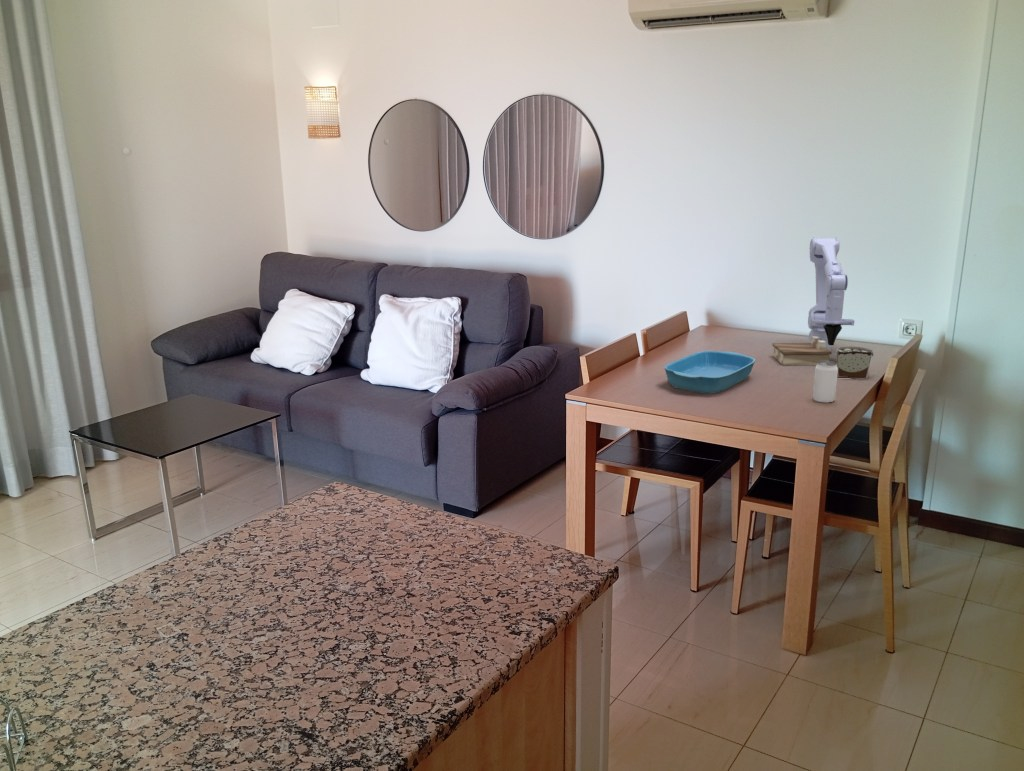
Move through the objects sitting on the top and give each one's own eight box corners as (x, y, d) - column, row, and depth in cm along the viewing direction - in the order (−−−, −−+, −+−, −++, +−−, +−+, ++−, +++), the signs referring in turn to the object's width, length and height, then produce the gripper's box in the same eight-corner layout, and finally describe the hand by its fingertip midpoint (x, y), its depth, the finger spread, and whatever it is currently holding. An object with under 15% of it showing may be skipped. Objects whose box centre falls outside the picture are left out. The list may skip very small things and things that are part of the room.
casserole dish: (714, 401, 252) (716, 379, 250) (652, 389, 266) (653, 368, 264) (763, 376, 279) (765, 356, 277) (704, 366, 293) (705, 347, 291)
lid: (772, 345, 301) (773, 335, 300) (818, 345, 300) (819, 335, 299) (783, 354, 287) (784, 343, 286) (831, 354, 287) (832, 343, 286)
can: (809, 397, 253) (812, 360, 250) (829, 396, 254) (832, 360, 250) (818, 403, 247) (821, 365, 244) (838, 402, 247) (842, 365, 244)
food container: (865, 374, 279) (868, 346, 276) (870, 378, 273) (874, 350, 270) (828, 373, 280) (831, 345, 277) (833, 378, 274) (836, 350, 271)
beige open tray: (773, 358, 302) (774, 346, 300) (816, 358, 301) (817, 346, 300) (783, 367, 289) (784, 355, 288) (828, 367, 289) (829, 354, 287)
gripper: (817, 310, 286) (814, 347, 289) (859, 309, 285) (855, 347, 289) (811, 306, 292) (807, 343, 296) (851, 306, 292) (847, 342, 296)
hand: (830, 344), depth 293 cm, fingers closed
